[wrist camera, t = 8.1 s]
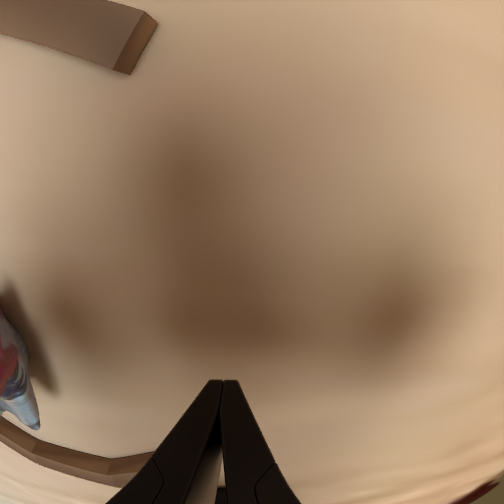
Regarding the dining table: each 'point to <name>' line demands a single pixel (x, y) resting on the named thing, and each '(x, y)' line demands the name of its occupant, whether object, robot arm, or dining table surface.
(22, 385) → the brake caliper
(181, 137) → the dining table surface
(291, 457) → the dining table surface
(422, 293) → the dining table surface
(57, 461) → the bent brown bar
